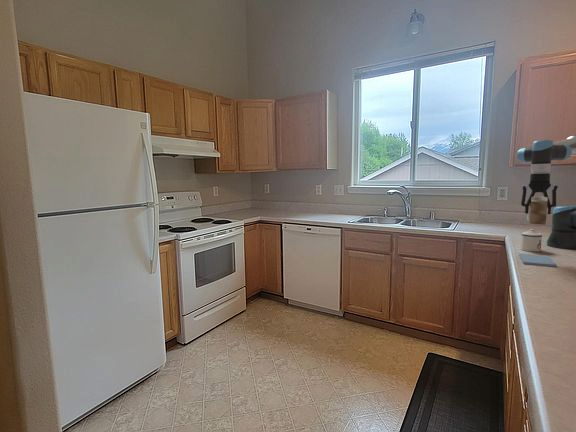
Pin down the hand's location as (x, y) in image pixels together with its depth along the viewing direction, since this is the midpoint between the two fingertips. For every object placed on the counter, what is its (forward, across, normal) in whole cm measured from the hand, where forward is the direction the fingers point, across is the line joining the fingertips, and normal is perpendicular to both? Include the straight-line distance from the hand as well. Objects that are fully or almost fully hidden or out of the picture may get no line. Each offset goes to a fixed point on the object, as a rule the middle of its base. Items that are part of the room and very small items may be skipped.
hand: (536, 220), depth 157 cm
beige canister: (+1, 0, 0) cm, 1 cm away
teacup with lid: (+19, +1, +22) cm, 29 cm away
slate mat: (+19, 0, -6) cm, 20 cm away
